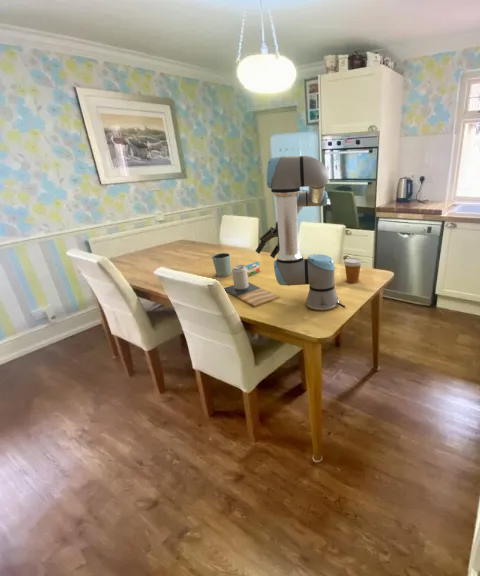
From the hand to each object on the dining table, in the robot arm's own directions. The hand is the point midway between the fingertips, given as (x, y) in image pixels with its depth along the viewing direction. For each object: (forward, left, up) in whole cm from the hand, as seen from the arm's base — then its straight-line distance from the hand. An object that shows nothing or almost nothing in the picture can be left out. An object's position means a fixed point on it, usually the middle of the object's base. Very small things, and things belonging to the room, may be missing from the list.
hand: (264, 254), depth 171 cm
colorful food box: (+19, -2, -17) cm, 25 cm away
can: (+2, +15, -16) cm, 22 cm away
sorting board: (-6, +15, -16) cm, 23 cm away
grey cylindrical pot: (+31, +10, -17) cm, 37 cm away
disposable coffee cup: (-33, -34, -17) cm, 50 cm away
